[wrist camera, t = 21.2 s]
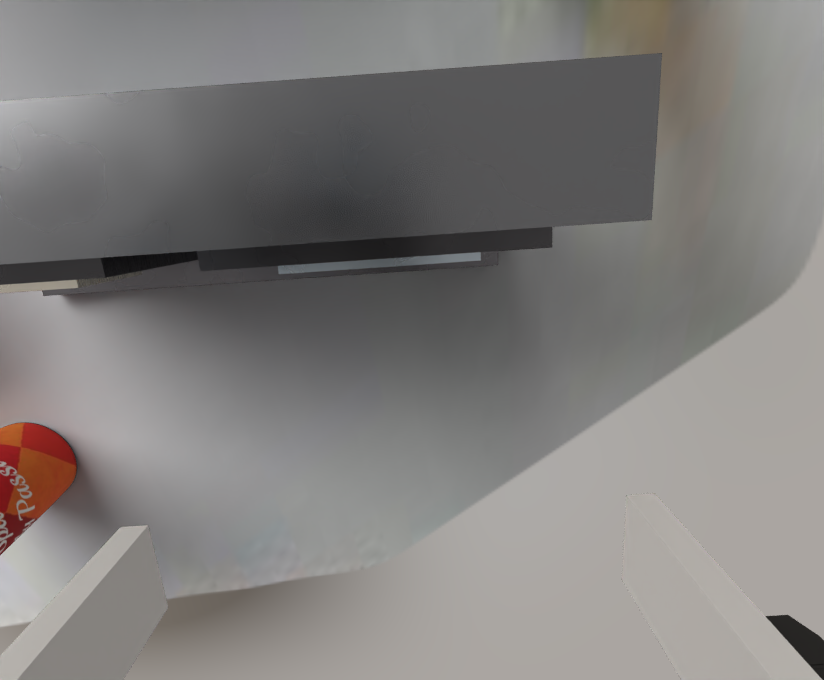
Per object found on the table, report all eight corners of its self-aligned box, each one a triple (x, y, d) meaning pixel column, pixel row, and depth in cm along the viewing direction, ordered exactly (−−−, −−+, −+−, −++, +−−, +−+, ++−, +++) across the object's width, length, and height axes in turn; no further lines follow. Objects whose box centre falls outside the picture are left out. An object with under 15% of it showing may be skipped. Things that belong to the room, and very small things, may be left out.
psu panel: (21, 149, 26) (-800, 1, 8) (491, 115, 25) (672, -110, 8) (58, 292, 28) (-537, 417, 10) (494, 262, 27) (644, 339, 10)
